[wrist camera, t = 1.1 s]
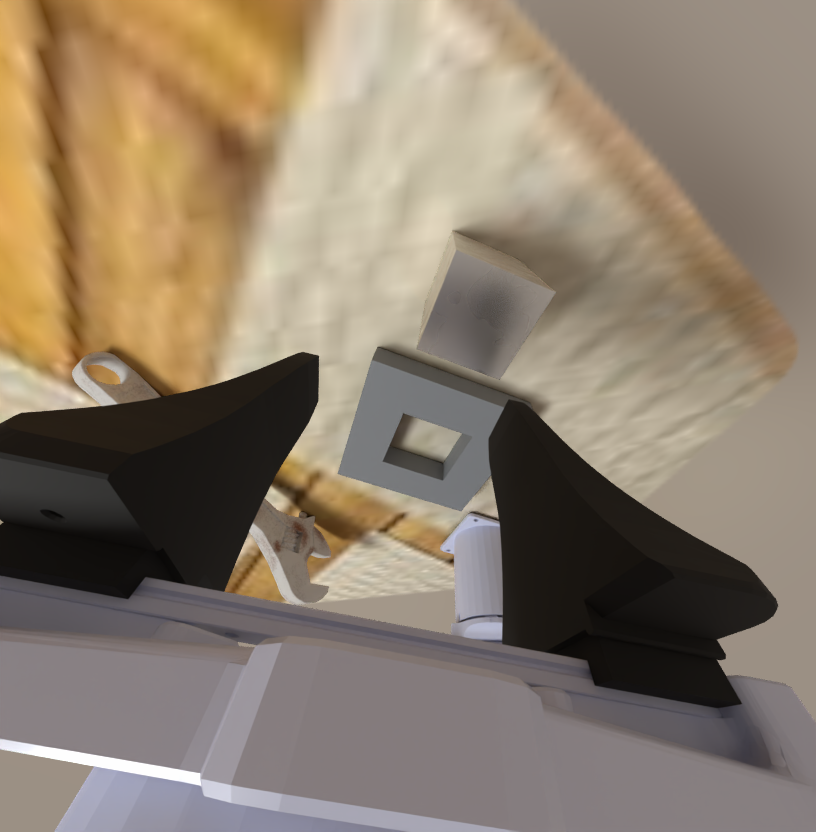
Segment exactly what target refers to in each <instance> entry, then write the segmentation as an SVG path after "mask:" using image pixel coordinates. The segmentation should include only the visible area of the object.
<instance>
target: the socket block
mask: <svg viewBox="0 0 816 832" xmlns="http://www.w3.org/2000/svg"><path fill="white" fill-rule="evenodd" d="M508 399H510V400H514V401H519V402H523V403H525V404H526V405H528V406H529V407H530V408H531V409H532V406H531V404H530V403H529V402H526V401H524V400H521V399H518V398H515V397H513V396H510V395H507V394H505V393H502V392H499V391H496V390H494V389H491V388H488V387H485V386H483V385H480V384H477V383H475V382H472V381H469V380H466V379H464V378H461V377H458V376H455V375H453V374H450V373H447V372H445V371H442V370H439V369H436V368H434V367H431V366H428V365H425V364H423V363H420V362H417V361H415V360H412V359H409V358H406V357H404V356H401V355H398V354H395V353H393V352H390V351H387V350H385V349H382V348H379V347H377V349H376V352H375V354H374V356H373V358H372V361H371V364H370V368H369V371H368V374H367V378H366V381H365V384H364V388H363V391H362V394H361V398H360V401H359V404H358V408H357V411H356V414H355V418H354V421H353V424H352V428H351V431H350V434H349V438H348V441H347V444H346V448H345V451H344V454H343V458H342V461H341V464H340V468H339V471H338V474H340V475H343V476H346V477H350V478H353V479H356V480H360V481H363V482H366V483H369V484H373V485H376V486H379V487H383V488H386V489H389V490H392V491H396V492H399V493H402V494H406V495H409V496H412V497H416V498H419V499H422V500H425V501H429V502H432V503H435V504H439V505H442V506H445V507H449V508H452V509H455V510H458V511H462V510H463V508H464V507H465V506H466V505H467V503H468V502H469V501H470V500H471V499H472V497H473V496H474V495H475V494H476V493H477V491H478V490H479V489H480V488H481V486H482V485H483V484H484V483H485V482H486V480H487V479H488V478H489V477H490V476H491V470H490V464H489V450H488V438H489V436H490V434H491V432H492V431H493V429H494V427H495V425H496V423H497V421H498V419H499V417H500V415H501V413H502V411H503V409H504V407H505V405H506V403H507V401H508ZM532 410H533V409H532ZM403 413H404V414H407V415H410V416H413V417H416V418H419V419H422V420H425V421H427V422H430V423H433V424H436V425H439V426H442V427H445V428H448V429H451V430H454V431H457V432H460V433H462V435H461V436H460V438H459V439H458V441H457V443H456V444H455V446H454V447H453V449H452V451H451V452H450V454H449V455H448V457H447V458H446V460H445V462H444V463H440V462H436V461H433V460H430V459H427V458H424V457H421V456H418V455H415V454H412V453H409V452H405V451H402V450H399V449H396V448H393V447H390V446H389V445H390V443H391V441H392V438H393V436H394V434H395V431H396V429H397V427H398V424H399V422H400V420H401V418H402V415H403Z"/></svg>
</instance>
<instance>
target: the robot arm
mask: <svg viewBox="0 0 816 832" xmlns="http://www.w3.org/2000/svg"><path fill="white" fill-rule="evenodd" d="M318 387H319V356H318V355H313V354H309V353H305V352H301V353H297V354H295V355H292V356H290V357H287V358H285V359H282V360H280V361H278V362H275V363H273V364H270V365H268V366H266V367H263V368H261V369H258V370H256V371H253V372H250V373H247V374H245V375H242V376H239V377H236V378H234V379H231V380H228V381H225V382H222V383H218V384H215V385H211V386H208V387H204V388H200V389H196V390H192V391H188V392H183V393H178V394H173V395H169V396H164V397H159V398H154V399H148V400H142V401H135V402H129V403H122V404H114V405H106V406H98V407H88V408H77V409H65V410H53V411H41V412H27V413H20V414H18V415H15V416H13V417H12V418H10V419H8V420H6V421H4V422H2V423H0V520H1V521H3V523H2V524H1V525H0V749H2V750H8V751H13V752H20V753H24V754H30V755H36V756H42V757H47V758H52V759H58V760H64V761H69V762H74V763H80V764H86V765H91V766H94V768H93V769H92V771H91V773H90V774H89V776H88V778H87V779H86V781H85V782H84V784H83V786H82V787H81V789H80V791H79V792H78V794H77V796H76V798H75V799H74V801H73V802H72V804H71V805H70V807H69V809H68V810H67V812H66V814H65V815H64V817H63V818H62V820H61V822H60V823H59V825H58V827H57V829H56V830H55V832H816V722H815V721H814V719H813V718H812V716H811V715H810V714H809V712H808V711H807V709H806V708H805V706H804V705H803V703H802V702H801V701H800V699H799V698H798V697H797V695H796V694H795V692H794V691H793V689H792V688H791V687H790V686H788V685H786V684H784V683H779V682H773V681H768V680H763V679H758V678H753V677H747V676H738V675H734V676H726V675H725V673H724V672H723V670H722V668H721V666H720V665H719V663H718V661H717V660H723V659H726V654H725V653H724V651H723V649H722V648H721V646H720V644H719V643H718V641H717V639H720V638H722V637H725V636H728V635H731V634H734V633H737V632H740V631H743V630H746V629H749V628H751V627H754V626H756V625H759V624H761V623H764V622H765V621H767V620H768V619H770V618H771V617H772V616H773V615H774V614H775V612H776V610H777V607H778V604H777V601H776V598H774V596H773V595H772V594H771V592H770V591H769V590H768V589H767V587H766V586H765V585H764V584H763V583H762V581H761V580H760V579H759V578H758V577H757V575H756V574H755V573H754V572H753V571H752V570H751V569H750V568H749V567H748V566H747V565H746V564H744V563H742V562H740V561H738V560H736V559H734V558H733V557H731V556H729V555H727V554H725V553H723V552H721V551H719V550H718V549H716V548H714V547H712V546H710V545H709V544H707V543H705V542H703V541H701V540H699V539H698V538H696V537H694V536H692V535H691V534H689V533H687V532H685V531H684V530H682V529H680V528H679V527H677V526H675V525H674V524H672V523H670V522H669V521H667V520H665V519H664V518H662V517H661V516H659V515H658V514H656V513H654V512H653V511H651V510H650V509H648V508H647V507H645V506H644V505H642V504H641V503H639V502H638V501H636V500H635V499H634V498H632V497H631V496H629V495H628V494H626V493H625V492H623V491H622V490H621V489H619V488H618V487H617V486H615V485H614V484H613V483H611V482H610V481H609V480H608V479H606V478H605V477H604V476H602V475H601V474H600V473H599V472H597V471H596V470H595V469H594V468H593V467H591V466H590V465H589V464H588V463H587V462H585V461H584V460H583V459H582V458H581V457H580V456H579V455H578V454H577V453H576V452H574V451H573V450H572V449H571V448H570V447H569V446H568V445H567V444H566V443H565V442H564V441H563V440H562V439H561V438H560V437H559V436H558V435H557V434H556V433H555V432H554V431H553V430H552V429H551V428H550V427H549V426H548V425H547V424H546V423H545V422H544V421H543V420H542V419H541V418H540V417H539V416H538V415H537V414H536V413H535V412H534V411H533V410H532V409H531V408H530V407H529V406H528V405H526V404H525V403H523V402H519V401H514V400H510V399H508V401H507V403H506V405H505V407H504V409H503V411H502V413H501V415H500V417H499V419H498V421H497V423H496V425H495V427H494V429H493V431H492V432H491V434H490V436H489V438H488V450H489V464H490V470H491V476H492V482H493V487H494V493H495V498H496V504H497V509H498V516H499V521H497V520H493V519H490V518H487V517H483V516H480V515H477V514H473V513H470V514H468V515H467V516H466V517H465V518H464V519H463V520H462V522H461V523H460V524H459V525H458V526H457V527H456V529H455V530H454V531H453V532H452V533H451V534H450V536H449V537H448V538H447V539H446V540H445V541H444V543H443V544H442V545H441V550H442V551H444V552H448V553H451V554H454V572H455V609H456V623H452V624H451V635H449V634H445V633H439V632H434V631H429V630H423V629H418V628H413V627H407V626H402V625H396V624H391V623H386V622H380V621H375V620H370V619H365V618H360V617H355V616H349V615H344V614H338V613H333V612H327V611H323V610H318V609H312V608H307V607H302V606H296V605H291V604H286V603H281V602H275V601H270V600H265V599H259V598H254V597H249V596H243V595H238V594H233V593H228V592H224V591H225V588H226V586H227V583H228V581H229V578H230V576H231V573H232V571H233V568H234V566H235V563H236V561H237V558H238V556H239V554H240V551H241V549H242V547H243V544H244V542H245V540H246V537H247V535H248V533H249V530H250V528H251V526H252V524H253V522H254V519H255V517H256V515H257V513H258V511H259V509H260V506H261V504H262V502H263V500H264V498H265V496H266V494H267V492H268V490H269V488H270V486H271V484H272V482H273V479H274V477H275V476H276V474H277V472H278V470H279V469H280V467H281V465H282V464H283V462H284V461H285V459H286V457H287V456H288V454H289V453H290V451H291V450H292V448H293V447H294V445H295V443H296V442H297V440H298V439H299V437H300V436H301V434H302V432H303V431H304V429H305V428H306V426H307V424H308V423H309V421H310V419H311V417H312V414H313V412H314V410H315V407H316V405H317V403H318ZM238 642H243V643H248V644H254V645H257V646H256V647H242V646H239V645H238Z"/></svg>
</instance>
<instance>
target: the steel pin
mask: <svg viewBox="0 0 816 832" xmlns="http://www.w3.org/2000/svg"><path fill="white" fill-rule="evenodd" d="M555 293H556V292H555V291H554V290H553V289H552V288H551V287H549V286H548V285H547V284H546V283H545V282H544V281H542V280H541V279H540V278H539V277H538V276H537V275H536V274H534V273H533V272H532V271H531V270H530V269H529V268H528V267H526V266H525V265H524V264H523V263H522V262H521V261H520V260H518V259H517V258H514V257H512V256H510V255H507V254H505V253H503V252H500V251H498V250H496V249H494V248H491V247H489V246H487V245H484V244H482V243H480V242H477V241H475V240H473V239H471V238H468V237H466V236H464V235H461V234H459V233H457V232H454V231H452V232H451V235H450V237H449V240H448V243H447V245H446V248H445V251H444V253H443V256H442V259H441V261H440V264H439V267H438V269H437V272H436V275H435V277H434V280H433V283H432V285H431V288H430V290H429V293H428V296H427V298H426V301H425V306H424V311H423V317H422V322H421V328H420V334H419V339H418V345H417V349H418V350H421V351H424V352H426V353H429V354H432V355H434V356H437V357H440V358H442V359H445V360H448V361H450V362H453V363H456V364H458V365H461V366H464V367H466V368H469V369H472V370H475V371H477V372H480V373H483V374H485V375H488V376H491V377H493V378H496V379H499V380H500V379H501V377H502V376H503V374H504V373H505V371H506V369H507V368H508V366H509V365H510V363H511V362H512V360H513V359H514V357H515V355H516V354H517V352H518V351H519V349H520V348H521V346H522V345H523V343H524V341H525V340H526V338H527V337H528V335H529V334H530V332H531V331H532V329H533V327H534V326H535V324H536V323H537V321H538V320H539V318H540V317H541V315H542V313H543V312H544V310H545V309H546V307H547V306H548V304H549V303H550V301H551V300H552V298H553V296H554V295H555Z"/></svg>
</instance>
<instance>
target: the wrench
mask: <svg viewBox="0 0 816 832" xmlns="http://www.w3.org/2000/svg"><path fill="white" fill-rule="evenodd" d="M92 364H95V365H102V366H104V367H106V368H108V369H110V370H112V371H114V372H116V373H117V375H118V376H119V377H120V382H121V383H120V384H118V385H109V384H104V383H102V382H99V381H97V380H96V379H94V378H92V377H91V376H90V374H89V373H88V372H87V368H86V365H92ZM72 376H73V378H74V380H75V382H76V383H77V384H78V385H79V387H80V388H82V389H83V390H84V391H85V392H87V393H88V394H89V395H90V396H91V397H92V398H94V399H95V400H96V401H97V402H98V403H99V404H100V405H102V406H106V405H114V404H122V403H129V402H135V401H142V400H148V399H154V398H159V397H161V396H160V395H159V394H158V393H157V392H156V391H155V390H154V389H153V388H152V387H151V386H150V385H149V384H148V383H147V382H146V381H145V380H144V379H143V378H142V377H141V376H140V375H139V374H138V373H136V372H135V371H134V370H133V369H131V368H130V367H129V366H128V365H126V364H125V363H124V362H123V361H121V360H120V359H119V358H118V357H116V356H115V355H114V354H111V353H107V352H94V353H90V354H88V355H86V356H85V357H84V358H83V359H82V360H81V361H80V362H79V363H78V364H77V365H76V367H75V368H74V369H73V371H72ZM314 521H315V516H311V517H308V518H307V514H306V513H305V512H300V513H299V517H294V516H289V515H287V514H285V513H283V512H280V511H278V510H277V509H275V508H274V507H273V506H272V505H271V504H270V503H269V502H268V501H267V500H266V499H265V498H264V500H263V502H262V504H261V506H260V509H259V511H258V513H257V515H256V517H255V519H254V522H253V524H252V526H251V528H250V530H249V533H250V534H252V536H253V538H254V539H255V541H256V543H257V544H258V546H259V548H260V550H261V551H262V553H263V555H264V557H265V558H266V560H267V562H268V564H269V566H270V569H271V571H272V573H273V576H274V578H275V581H276V583H277V585H278V588H279V591H280V593H281V595H282V596H283V597H284V598H285V600H286V601H288V602H290V603H292V604H294V605H300V604H309V603H315V602H317V601H319V600H321V599H322V598H323V597H324V596H325V595H326V594H327V592H328V588H329V587H328V586H323V585H317V584H311V583H310V579H309V574H308V569H307V559H308V557H309V556H310V555H312V556H314V557H318V558H328V557H331V551H330V549H329V546H328V544H327V542H326V540H325V539H324V537H323V535H322V533H321V532H320V531H319V530H318V529H317V528H316V527H315V526H314Z"/></svg>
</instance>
